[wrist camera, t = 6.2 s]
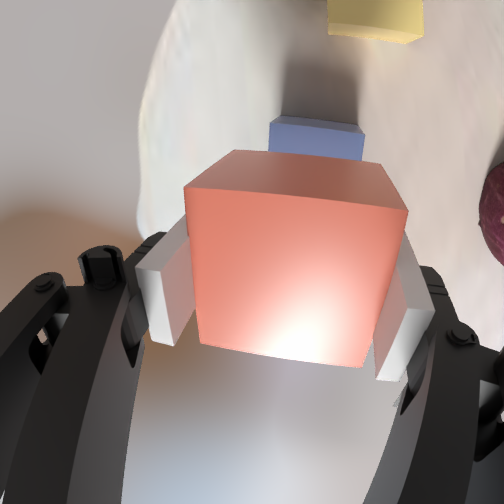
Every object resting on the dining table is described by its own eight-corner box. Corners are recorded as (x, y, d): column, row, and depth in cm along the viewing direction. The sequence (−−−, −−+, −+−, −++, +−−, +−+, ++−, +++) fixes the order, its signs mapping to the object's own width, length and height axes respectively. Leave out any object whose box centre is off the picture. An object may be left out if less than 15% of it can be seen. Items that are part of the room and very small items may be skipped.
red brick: (233, 149, 13) (183, 187, 8) (380, 163, 12) (408, 211, 7) (235, 271, 16) (200, 343, 11) (357, 287, 15) (361, 367, 10)
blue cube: (280, 115, 23) (269, 122, 19) (357, 124, 22) (364, 134, 18) (276, 186, 26) (265, 208, 22) (347, 196, 25) (351, 220, 21)
